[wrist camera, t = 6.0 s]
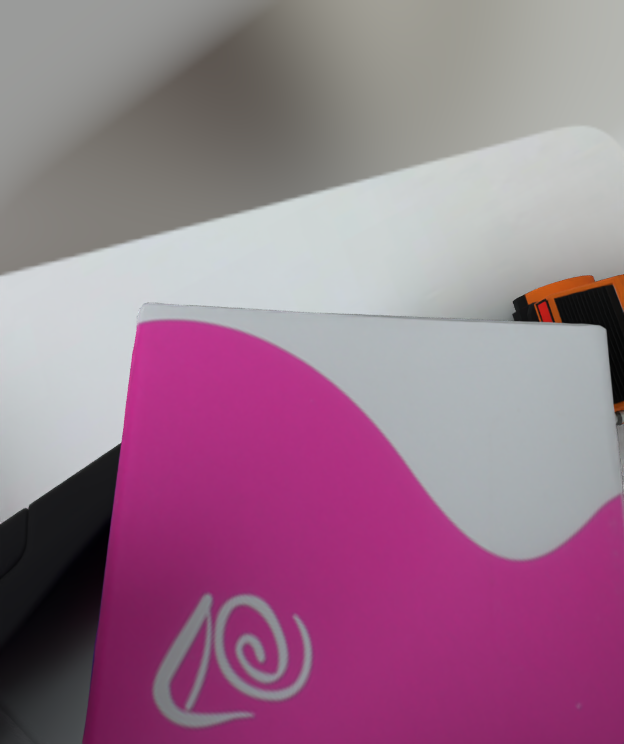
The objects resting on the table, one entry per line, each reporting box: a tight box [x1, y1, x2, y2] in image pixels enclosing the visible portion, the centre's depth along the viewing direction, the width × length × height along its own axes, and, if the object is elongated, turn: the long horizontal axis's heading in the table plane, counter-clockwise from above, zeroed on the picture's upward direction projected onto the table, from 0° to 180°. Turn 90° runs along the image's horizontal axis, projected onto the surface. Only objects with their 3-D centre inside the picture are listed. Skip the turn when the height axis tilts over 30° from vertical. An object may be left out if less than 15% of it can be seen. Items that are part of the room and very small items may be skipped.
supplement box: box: [82, 303, 624, 744], centre depth 9 cm, size 6×6×12 cm
